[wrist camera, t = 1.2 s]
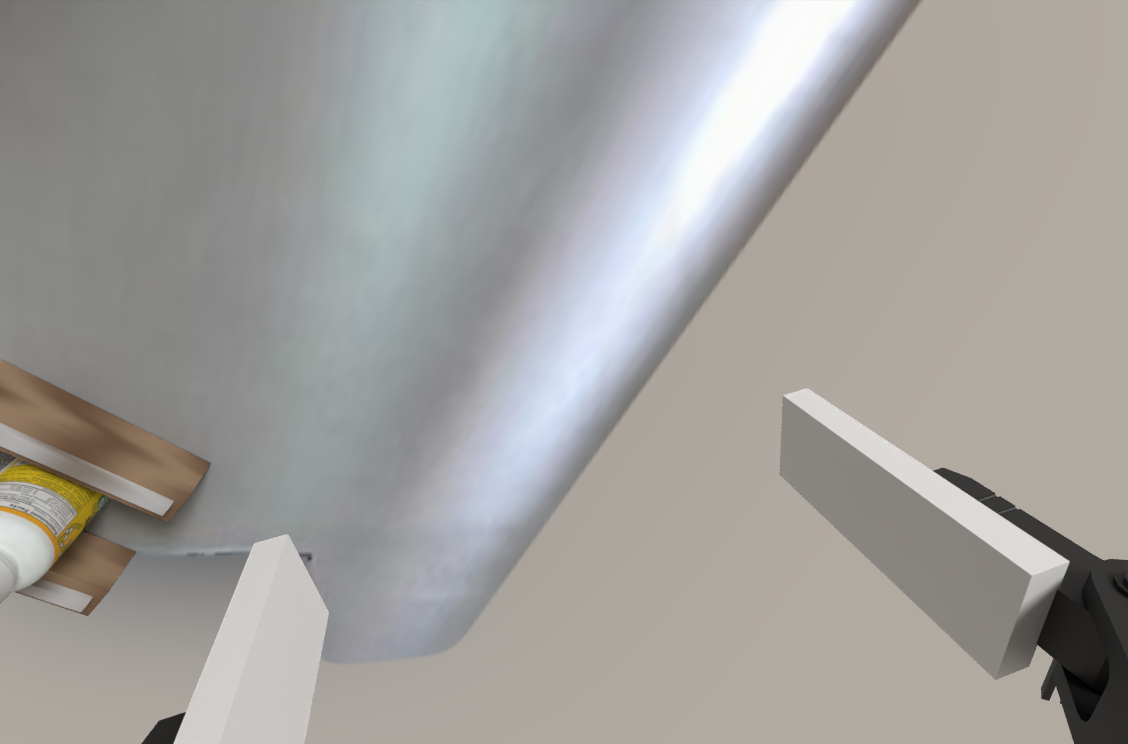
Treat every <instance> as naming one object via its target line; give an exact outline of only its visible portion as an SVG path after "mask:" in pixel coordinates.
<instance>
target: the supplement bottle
mask: <svg viewBox="0 0 1128 744" xmlns="http://www.w3.org/2000/svg"><path fill="white" fill-rule="evenodd" d="M108 499H109V497H107V496H105V495H103V494H100V493H98V492H96V491H93V490H91V489H89V488H86V487H84V486H82V485H79V484H77V483H75V482H72V481H70V480H68V479H65V478H63V477H61V476H58V475H56V474H54V473H51V472H49V471H47V470H44V469H42V468H40V467H37V466H35V465H33V464H30V463H28V462H26V461H23V460H21V459H19V458H16V459H14V460H13V461H12V462H11V463H9V464H8V465H7V466H6V467H4V468H3V469H2V470H1V471H0V603H1V602H2V601H3V600H4V599H5V598H6V597H7V596H8V595H9V594H10V593H11V592H15V591H18V590H21V589H23V588H25V587H28V586H29V585H31V584H33V583H35V582H36V581H37V580H39V579H40V578H41V577H42V576H43V575H44V574H45V573H46V572H47V571H48V570H49V569H50V568H51V567H52V566H53V564H54V563H55V562H56V561H57V560H58V558H59V557H60V556H61V555H62V554H63V553H64V551H65V550H66V549H67V548H68V547H69V546H70V545H71V543H72V542H73V541H74V540H75V539H76V538H77V536H78V535H79V534H80V533H81V532H82V531H83V529H84V528H85V527H86V526H87V525H88V524H89V522H90V521H91V520H92V519H93V518H94V517H95V515H96V514H97V513H98V512H99V511H100V510H101V509H102V507H103V506H104V505H105V504H106V502H107V501H108Z"/></svg>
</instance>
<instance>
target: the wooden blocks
mask: <svg viewBox="0 0 1128 744" xmlns="http://www.w3.org/2000/svg"><path fill="white" fill-rule="evenodd" d="M0 451H2V452H5V453H7V454H9V455H12V456H14V457H16V458H19V459H21V460H23V461H26V462H28V463H30V464H33V465H35V466H37V467H40V468H42V469H44V470H47V471H49V472H51V473H54V474H56V475H58V476H61V477H63V478H65V479H68V480H70V481H72V482H75V483H77V484H79V485H82V486H84V487H86V488H89V489H91V490H93V491H96V492H98V493H100V494H103V495H105V496H107V497H110V498H112V499H114V500H117V501H119V502H121V503H124V504H126V505H128V506H131V507H133V508H135V509H138V510H140V511H142V512H145V513H147V514H149V515H152V516H154V517H156V518H159V519H161V520H163V521H166V522H168V521H169V520H170V519H171V518H172V516H173V515H174V514H175V513H176V512H177V511H178V509H179V508H180V507H181V506H182V505H183V503H184V502H185V501H186V500H187V499H188V498H189V496H190V495H191V494H192V492H193V490H194V489H195V487H196V486H197V484H198V483H199V481H200V480H201V478H202V476H203V475H204V473H205V472H206V470H207V469H208V467H209V465H210V464H211V463H209V462H207V461H205V460H203V459H201V458H199V457H197V456H195V455H193V454H191V453H189V452H187V451H185V450H183V449H181V448H179V447H177V446H175V445H173V444H171V443H169V442H167V441H165V440H163V439H161V438H159V437H157V436H155V435H153V434H151V433H149V432H147V431H145V430H143V429H141V428H139V427H137V426H135V425H133V424H130V423H128V422H126V421H124V420H122V419H120V418H118V417H116V416H114V415H112V414H110V413H108V412H106V411H104V410H102V409H100V408H98V407H96V406H94V405H92V404H90V403H88V402H86V401H84V400H82V399H80V398H78V397H76V396H74V395H72V394H70V393H68V392H66V391H64V390H62V389H60V388H58V387H56V386H54V385H52V384H50V383H48V382H46V381H44V380H42V379H40V378H38V377H36V376H34V375H32V374H30V373H28V372H25V371H23V370H21V369H19V368H17V367H15V366H13V365H11V364H9V363H7V362H5V361H1V362H0ZM134 554H135V551H133V550H130V549H128V548H125V547H123V546H120V545H118V544H115V543H113V542H110V541H107V540H105V539H102V538H100V537H97V536H95V535H92V534H90V533H87V532H85V531H82V532H81V533H80V534H79V535H78V536H77V538H76V539H75V540H74V541H73V542H72V543H71V545H70V546H69V547H68V548H67V549H66V550H65V551H64V553H63V554H62V555H61V556H60V557H59V558H58V560H57V561H56V562H55V563H54V564H53V566H52V567H51V568H50V569H49V570H48V571H47V572H46V573H45V574H44V575H43V576H42V577H41V578H40V579H39V580H37V581H36V582H35V583H33V584H31V585H29V586H28V587H25V588H23V589H21V590H18V591H15V592H16V593H20V594H22V595H26V596H29V597H32V598H35V599H38V600H41V601H44V602H47V603H50V604H53V605H56V606H59V607H62V608H65V609H68V610H71V611H74V612H77V613H80V614H83V615H86V616H88V615H89V614H90V613H91V612H92V611H93V609H94V608H95V607H96V606H97V605H98V603H99V602H100V601H101V600H102V599H103V598H104V596H105V595H106V594H107V593H108V592H109V590H110V589H111V587H112V586H113V585H114V583H115V582H116V580H117V579H118V577H119V576H120V574H121V573H122V571H123V570H124V568H125V567H126V566H127V564H128V563H129V561H130V560H131V558H132V557H133V555H134Z"/></svg>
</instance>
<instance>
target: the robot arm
mask: <svg viewBox="0 0 1128 744" xmlns="http://www.w3.org/2000/svg"><path fill="white" fill-rule="evenodd" d="M780 476H782V477H783V478H784V479H785V480H786V481H787V482H788V483H789V484H790V485H791V486H792V487H793V488H794V489H795V490H796V491H797V492H798V493H800V495H802V497H804V498H805V499H806V500H807V501H808V502H809V503H810V504H811V505H812V506H813V507H814V508H815V509H816V510H817V511H819V513H820V514H821V515H822V516H824V517H825V518H826V519H827V520H828V521H829V522H830V523H831V524H832V525H833V526H834V527H835V528H836V529H837V530H838V531H839V532H840V533H841V534H843V535H844V536H845V537H846V538H847V539H848V540H849V541H850V542H851V543H852V544H853V545H854V546H855V547H856V548H857V549H858V550H859V551H860V552H861V553H862V554H864V555H865V556H866V557H867V558H868V559H869V560H870V561H871V562H872V563H873V564H874V565H875V566H876V567H877V568H878V569H879V570H880V571H881V572H883V573H884V574H885V575H886V576H887V577H888V578H889V579H890V580H891V581H892V582H893V583H894V584H895V585H896V586H897V587H898V588H899V589H900V590H901V591H903V592H904V593H905V594H906V595H907V596H908V597H909V598H910V599H911V600H912V601H913V602H914V603H915V604H916V605H917V606H918V607H919V608H920V609H921V610H922V611H923V612H925V613H926V614H927V615H928V616H929V617H930V618H931V619H932V620H933V621H934V622H935V623H936V624H937V625H938V626H939V627H940V628H941V629H942V630H943V631H945V632H946V633H947V634H948V635H949V636H950V637H951V638H952V639H953V640H954V641H955V642H956V643H957V644H958V645H959V646H961V648H962V649H963V650H964V651H966V652H967V653H968V654H969V655H970V656H971V657H972V658H973V659H974V660H975V661H976V662H977V663H978V664H979V665H980V666H981V667H982V668H983V669H984V670H986V671H987V672H988V673H989V674H990V675H991V676H992V677H993V678H994V679H995V680H996V679H999V678H1001V677H1004V676H1006V675H1009V674H1011V673H1014V672H1016V671H1019V670H1021V669H1024V668H1026V667H1029V665H1030V663H1031V660H1032V657H1033V655H1034V652H1035V650H1036V647H1037V645H1038V646H1040V647H1041V648H1042V649H1043V650H1044V651H1046V652H1047V653H1048V654H1049V655H1050V656H1052V657H1053V658H1054V659H1053V661H1052V664H1051V666H1050V668H1049V671H1048V673H1047V676H1046V678H1045V680H1044V683H1043V685H1042V687H1041V698H1042V699H1044V700H1048V701H1049V700H1050V698H1051V695H1052V693H1053V691H1054V689H1055V686H1056V687H1057V691H1058V693H1059V697H1060V700H1061V701H1060V704H1062V706H1063V709H1064V713H1065V716H1066V719H1067V722H1068V725H1069V729H1070V731H1071V734H1072V738H1073V741H1074V744H1128V560H1117V559H1109V560H1105V561H1104V560H1102V559H1100V558H1098V557H1096V556H1095V555H1093V554H1091V553H1090V552H1088V551H1087V550H1085V549H1083V548H1082V547H1080V546H1079V545H1077V544H1075V543H1074V542H1072V541H1071V540H1069V539H1067V538H1066V537H1064V536H1063V535H1061V534H1059V533H1058V532H1056V531H1054V530H1053V529H1051V528H1050V527H1048V526H1047V525H1045V524H1043V523H1042V522H1040V521H1039V520H1037V519H1035V518H1034V517H1032V516H1031V515H1029V514H1027V513H1026V512H1024V511H1022V510H1021V509H1016V508H1015V506H1014V505H1013V504H1012V503H1010V502H1008V501H1007V500H1005V499H1003V498H1002V497H997V496H996V495H995V493H994V492H992V491H991V490H989V489H988V488H986V487H984V486H983V485H981V484H980V483H978V482H976V481H975V480H973V479H972V478H969V477H966V476H964V475H961V474H959V473H956V472H953V471H951V470H948V469H945V468H940V469H937V470H934V471H932V470H930V469H929V468H927V467H926V466H924V465H923V464H921V463H920V462H918V461H917V460H915V459H913V458H912V457H910V456H909V455H907V454H906V453H904V452H903V451H901V450H900V449H898V448H897V447H895V446H894V445H892V444H891V443H889V442H887V441H886V440H885V439H883V438H882V437H880V436H879V435H877V434H876V433H874V432H873V431H871V430H870V429H868V428H867V427H865V426H864V425H862V424H861V423H859V422H858V421H856V420H854V419H853V418H851V417H850V416H848V415H847V414H845V413H844V412H842V411H841V410H839V409H838V408H836V407H835V406H833V405H832V404H830V403H829V402H827V401H826V400H824V399H823V398H821V397H820V396H818V395H817V394H815V393H814V392H812V391H811V390H809V389H804V390H800V391H797V392H793V393H790V394H786V395H783V407H782V431H781V455H780ZM328 615H329V612H328V610H327V608H326V606H325V604H324V602H323V600H322V598H321V596H320V595H319V593H318V591H317V589H316V587H315V585H314V583H313V581H312V579H311V577H310V575H309V573H308V572H307V570H306V568H305V566H304V564H303V562H302V560H301V558H300V556H299V554H298V552H297V551H296V549H295V547H294V545H293V543H292V541H291V539H290V537H289V535H288V534H286V535H282V536H279V537H275V538H272V539H268V540H265V541H261V542H257V543H254V545H253V547H252V550H251V552H250V555H249V557H248V560H247V562H246V565H245V567H244V569H243V572H242V574H241V577H240V580H239V582H238V584H237V587H236V589H235V592H234V595H233V597H232V599H231V602H230V605H229V607H228V609H227V612H226V614H225V617H224V619H223V622H222V624H221V627H220V629H219V632H218V634H217V637H216V639H215V642H214V644H213V647H212V649H211V652H210V654H209V657H208V659H207V661H206V664H205V667H204V669H203V671H202V674H201V677H200V679H199V681H198V684H197V686H196V689H195V691H194V694H193V696H192V699H191V701H190V704H189V706H188V709H187V711H186V712H185V713H181V714H178V715H175V716H172V717H169V718H166V719H163V720H160V721H159V722H158V723H157V724H156V725H155V727H154V728H153V730H152V731H151V732H150V733H149V735H148V736H147V737H146V739H145V740H144V741H143V743H142V744H304V743H305V738H306V731H307V727H308V722H309V716H310V711H311V705H312V700H313V695H314V690H315V684H316V679H317V674H318V668H319V663H320V658H321V652H322V647H323V642H324V636H325V631H326V626H327V621H328Z"/></svg>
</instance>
